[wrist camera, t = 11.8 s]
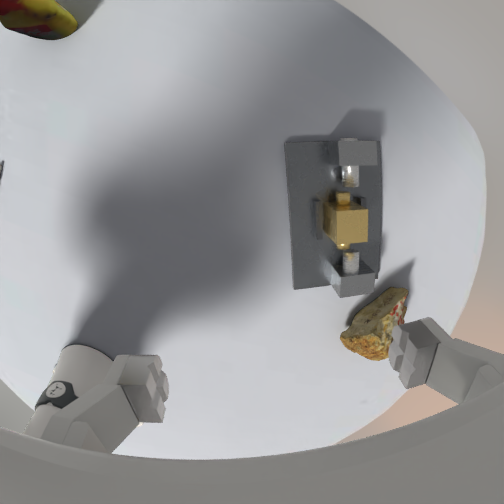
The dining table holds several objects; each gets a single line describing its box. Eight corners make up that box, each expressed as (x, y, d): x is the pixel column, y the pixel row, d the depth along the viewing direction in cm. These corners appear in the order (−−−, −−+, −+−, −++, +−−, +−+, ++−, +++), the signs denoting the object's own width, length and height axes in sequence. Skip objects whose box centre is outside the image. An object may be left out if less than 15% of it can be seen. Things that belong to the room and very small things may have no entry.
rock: (368, 283, 49) (406, 280, 40) (394, 315, 50) (432, 318, 41) (327, 336, 46) (361, 345, 37) (357, 366, 47) (393, 379, 38)
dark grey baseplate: (375, 277, 44) (389, 292, 39) (293, 288, 43) (299, 305, 39) (376, 138, 37) (393, 138, 32) (284, 140, 36) (291, 139, 32)
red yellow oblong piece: (93, 17, 28) (19, -38, 9) (69, 53, 30) (-19, 16, 11) (46, 4, 25) (-26, -36, 7) (25, 36, 27) (-55, 9, 8)
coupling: (351, 240, 40) (367, 254, 35) (324, 243, 40) (336, 257, 35) (351, 188, 38) (368, 195, 33) (322, 190, 38) (336, 197, 33)
